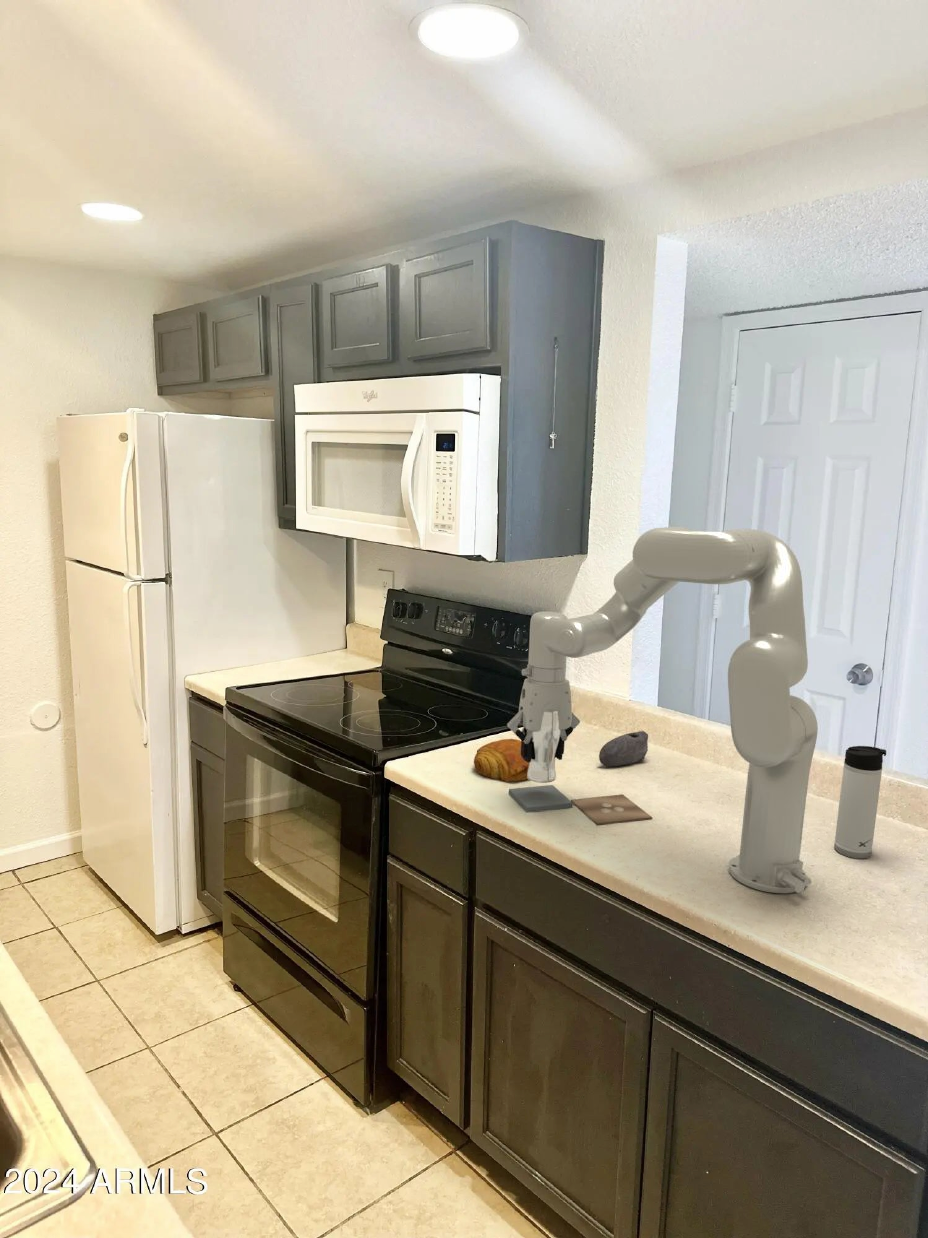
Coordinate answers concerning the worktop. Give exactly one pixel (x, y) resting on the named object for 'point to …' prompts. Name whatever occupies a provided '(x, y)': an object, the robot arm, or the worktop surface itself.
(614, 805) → the dot tile
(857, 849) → the travel mug
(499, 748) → the croissant
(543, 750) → the beer glass
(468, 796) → the worktop surface
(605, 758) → the perforated stone tool
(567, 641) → the robot arm
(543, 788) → the rubber mat
